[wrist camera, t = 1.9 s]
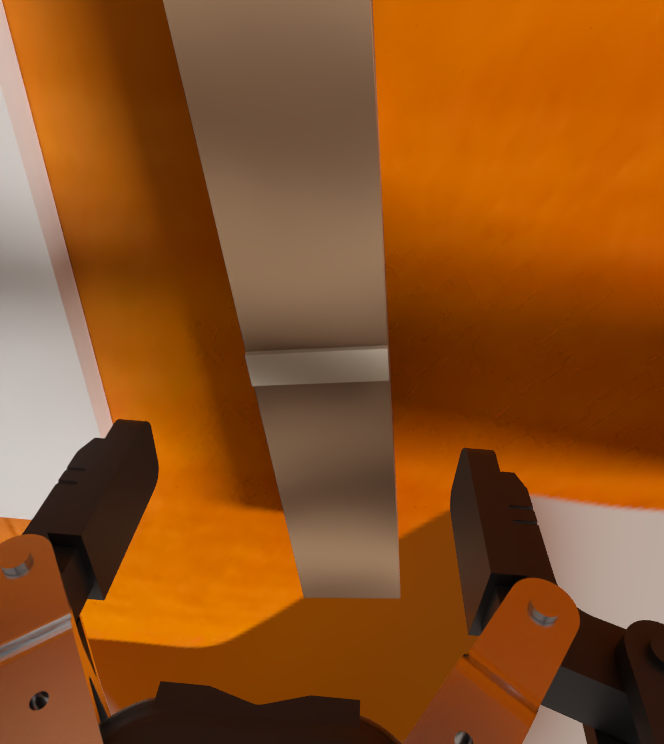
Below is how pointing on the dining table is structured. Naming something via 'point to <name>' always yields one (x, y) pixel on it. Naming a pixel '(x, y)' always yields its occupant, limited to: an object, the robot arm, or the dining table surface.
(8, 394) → the stand
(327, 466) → the walnut beam
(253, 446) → the dining table surface
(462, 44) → the dining table surface
